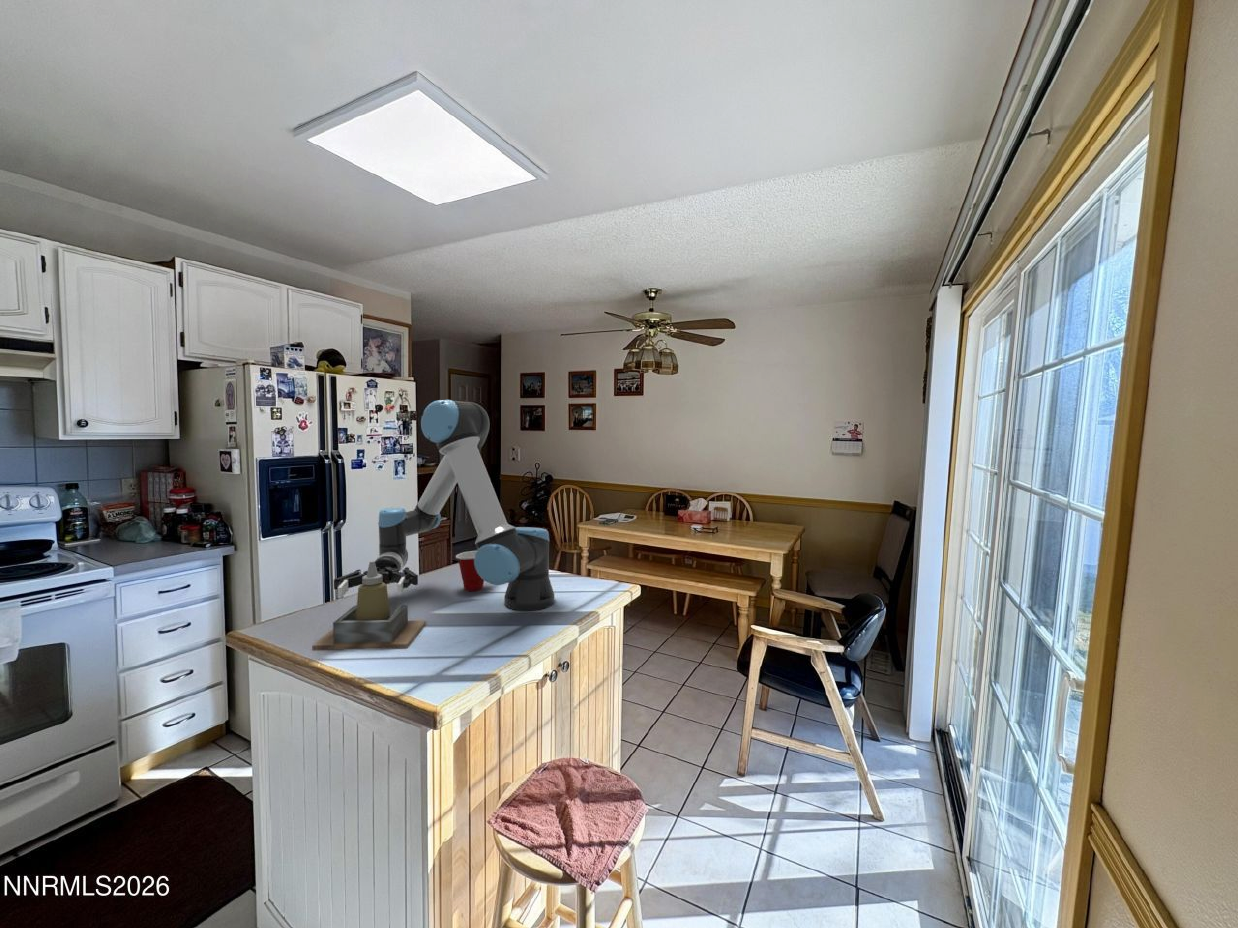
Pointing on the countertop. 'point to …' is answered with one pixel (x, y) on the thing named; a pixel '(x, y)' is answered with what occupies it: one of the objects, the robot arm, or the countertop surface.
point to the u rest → (371, 632)
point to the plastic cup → (469, 571)
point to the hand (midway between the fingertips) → (369, 591)
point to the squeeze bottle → (372, 597)
